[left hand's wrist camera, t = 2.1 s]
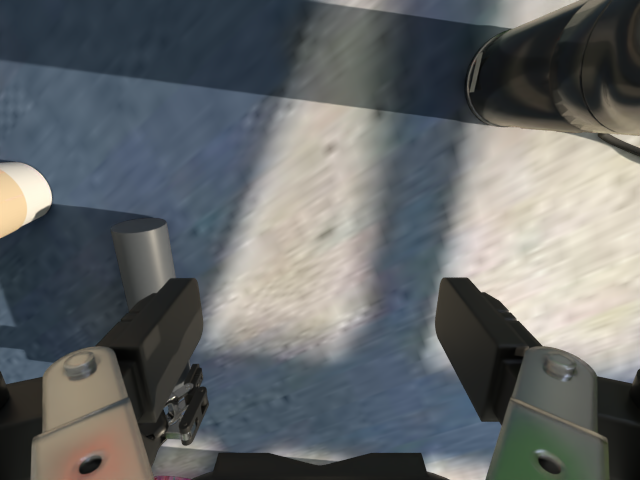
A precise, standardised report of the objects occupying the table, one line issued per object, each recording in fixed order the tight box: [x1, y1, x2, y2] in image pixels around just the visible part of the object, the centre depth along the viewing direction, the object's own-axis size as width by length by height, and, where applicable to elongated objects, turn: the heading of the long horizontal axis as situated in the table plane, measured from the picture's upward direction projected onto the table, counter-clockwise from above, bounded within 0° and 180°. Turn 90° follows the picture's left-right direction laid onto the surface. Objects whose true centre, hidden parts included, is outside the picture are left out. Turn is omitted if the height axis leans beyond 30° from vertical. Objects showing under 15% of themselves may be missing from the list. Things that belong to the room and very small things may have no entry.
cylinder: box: [110, 218, 191, 392], centre depth 43 cm, size 24×6×6 cm, turn 0°
